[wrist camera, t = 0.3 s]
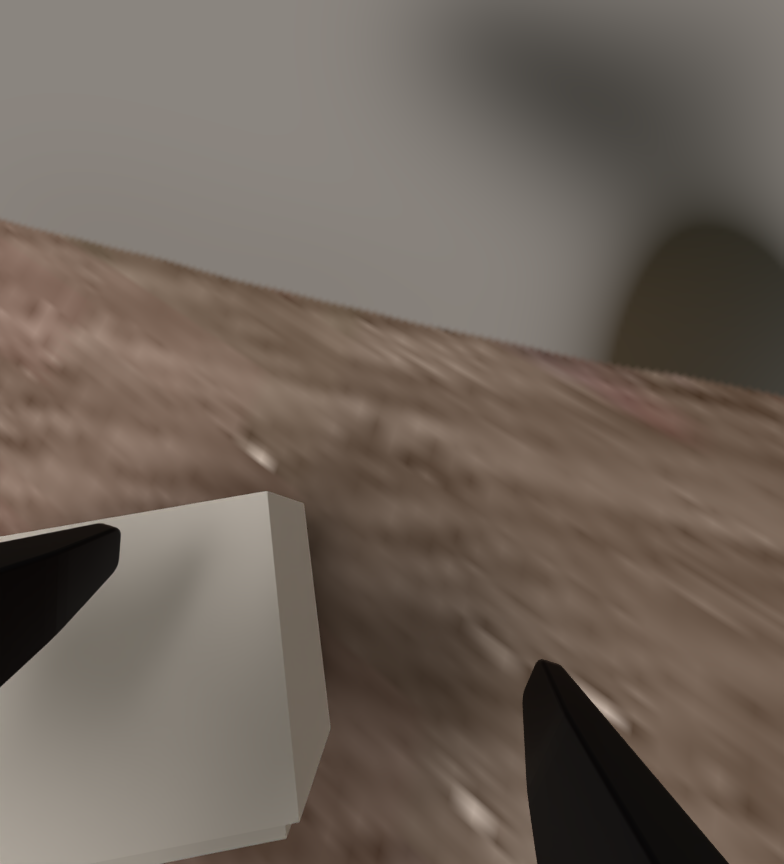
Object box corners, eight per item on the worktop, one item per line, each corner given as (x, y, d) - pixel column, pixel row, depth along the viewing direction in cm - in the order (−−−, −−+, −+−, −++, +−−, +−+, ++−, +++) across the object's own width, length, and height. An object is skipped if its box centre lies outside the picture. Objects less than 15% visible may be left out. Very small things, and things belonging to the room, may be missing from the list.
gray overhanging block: (347, 713, 20) (304, 876, 11) (0, 779, 20) (-374, 1013, 10) (321, 508, 23) (267, 490, 13) (11, 562, 22) (-283, 585, 13)
